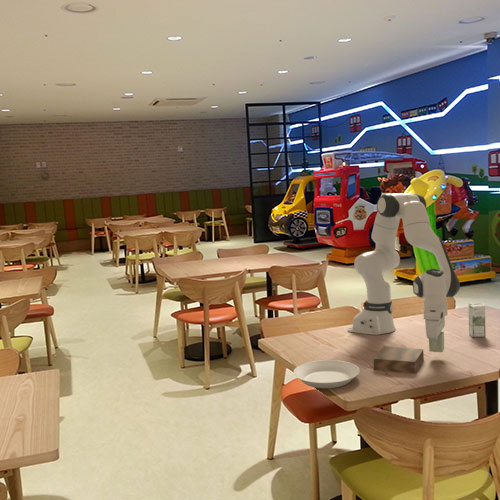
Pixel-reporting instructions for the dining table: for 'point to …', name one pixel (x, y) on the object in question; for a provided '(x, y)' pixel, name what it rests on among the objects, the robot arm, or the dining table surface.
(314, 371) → the white plate
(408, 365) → the walnut block
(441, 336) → the sage block
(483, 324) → the syrup box
